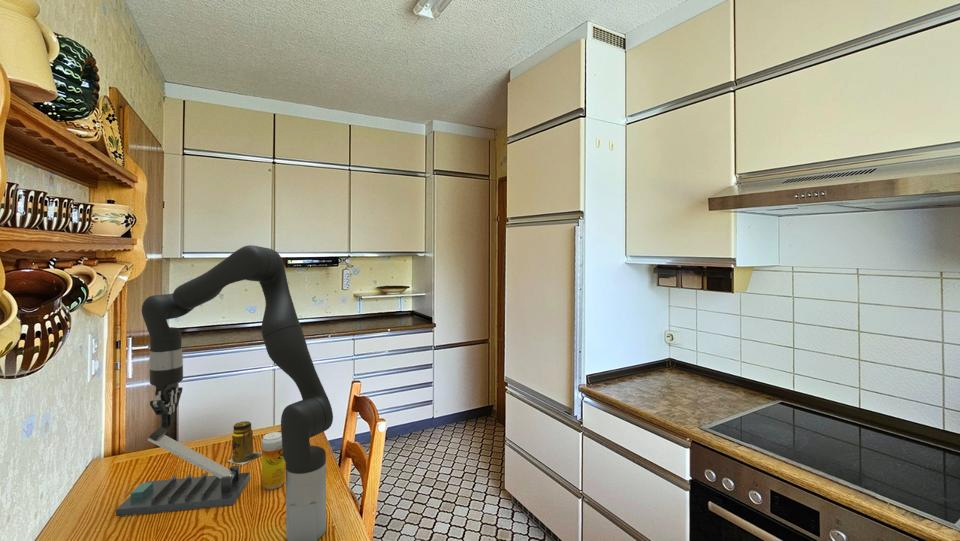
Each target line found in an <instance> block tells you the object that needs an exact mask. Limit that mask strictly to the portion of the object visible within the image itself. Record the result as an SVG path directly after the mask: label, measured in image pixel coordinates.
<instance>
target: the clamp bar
mask: <svg viewBox="0 0 960 541" xmlns="http://www.w3.org/2000/svg"><path fill="white" fill-rule="evenodd" d="M168 431H169V430H168V429H167V428H162V426H160V427H159V428H158V429H156V430H155V431H153V432H152V433H151V434H150V435H149V436H148V439H147V441H148V442H150V443H152V444H153V445H156V446H158V447H160V448H162V449H163V450H166V451H168V452H169V453H171V454H173V455H175V456H177V457H179V458H180V459H183V460H184V461H186V462H187V463H190V464H192V465H193V466H195V467H198V468H199V469H201V470H202V471H205V472H207V473H209V475H210V474H211V476H216V477H218V478H220V479H221V478H222V477H225V476H232V479H233V478H234V477H235V475H236V472H235V471H231V470H229V468H227V467H226V466H224V465H222V464H220V463H218V462H216V461H214V460H212V459H211V458H209V457H207V456H205V455H203V454H202V453H200V452H198V451H195V450H194V449H192V448H190V447H188V446H186V445H185V444H183V443H181V442H179V441H177V440H176V439H173V438H172V437H170V436H168V435H166V433H167V432H168Z"/></svg>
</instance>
